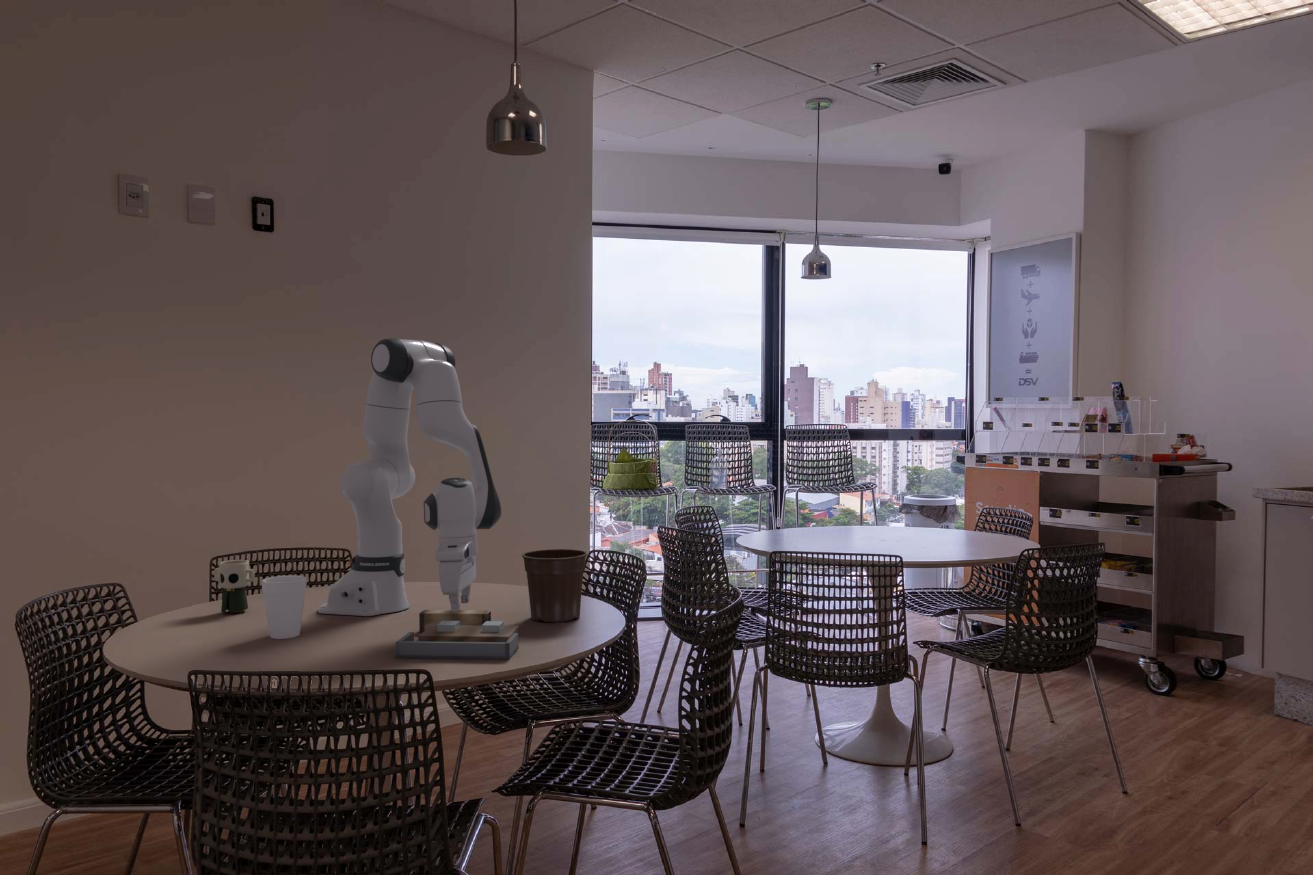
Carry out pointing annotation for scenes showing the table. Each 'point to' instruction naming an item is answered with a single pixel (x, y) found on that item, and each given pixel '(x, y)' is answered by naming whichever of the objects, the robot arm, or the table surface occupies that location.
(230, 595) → the character mug
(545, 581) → the plant pot
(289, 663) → the table surface
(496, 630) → the tile
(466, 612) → the brown wooden block
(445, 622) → the tile
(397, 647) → the tray
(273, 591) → the foam cup
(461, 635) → the board
